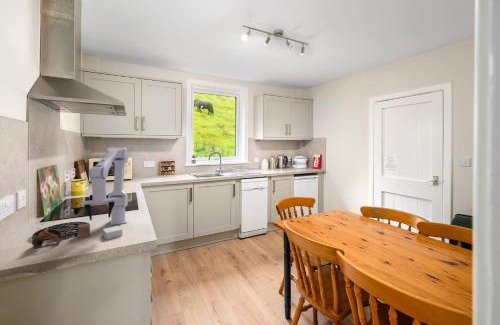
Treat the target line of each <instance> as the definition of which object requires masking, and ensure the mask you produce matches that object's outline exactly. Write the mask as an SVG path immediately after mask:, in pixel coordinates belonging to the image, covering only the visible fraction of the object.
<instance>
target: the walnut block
mask: <svg viewBox="0 0 500 325" xmlns="http://www.w3.org/2000/svg"><path fill="white" fill-rule="evenodd" d="M90 226H91V224H90V223H84V224H82V223H81V224H78V226H77V227H78V228H77V230H78V233H77V234H78V239H83V238H90V237H91V228H90Z"/></svg>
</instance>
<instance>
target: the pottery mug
mask: <svg viewBox="0 0 500 325" xmlns="http://www.w3.org/2000/svg"><path fill="white" fill-rule="evenodd" d="M63 235H64V234H63V233H62V232H61V231H59V230H58V229H54V228H46V229H44V231H42V232H40V233H38V235H37V236H36V237H35V238H33V239H32V240H31V244H32V246H33V249H34V250H36V248H37V249H40V248H42V246H43V243H44V242H46V238H47V239H49V240H55V241H56V243H55V246H59V245H60V244H61V242H62V240H63V238H62V236H63Z"/></svg>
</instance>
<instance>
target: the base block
mask: <svg viewBox="0 0 500 325" xmlns="http://www.w3.org/2000/svg"><path fill="white" fill-rule="evenodd" d="M102 236H103V237H104V238H105V239H106V240H110V239H113V238H114V239H115V238H118V237H123V229H122V227H121V226H119V225H115V226H109V227H106V228H103V229H102Z"/></svg>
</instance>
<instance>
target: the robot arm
mask: <svg viewBox="0 0 500 325" xmlns="http://www.w3.org/2000/svg"><path fill="white" fill-rule="evenodd" d="M127 148H128V147H110V146H109V147H107V149H106V155H105V157H104V158H102V159H100V160H99V161H98V163H97V164H96V165H95V166H92V167H91V168H90V169H89V171H88V177H89V182H90V183H91V192H92V199H91V200H84V201H81V207H83V208H84V210H85V211H86V213H87V215H88V217H89V221H92V220H93V217H92V206H93V205H95V206H96V205H103V204H106V205H107V207H108V214H107V215H108V218H109V219H110V218H111V219H110V220H109V222H110V226H114V225H115V226H117V225H121V224H127V223H128V222H127V219H126V207H127V206H128V205H129V204H128V203H129V196H128V193H127V192H126V191H124V180H125V179H124V178H125V165H126V163H127V162H128V160H129V151H128V149H127ZM113 163H114V176H113V188H112V189H113V190H112V191H111V192H110V193H109V194H108V196H107V182H106V181H107V180H106V179H107V178H108V174H109V172H110V171H109V170H110V169H111V167H112V166H113Z"/></svg>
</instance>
